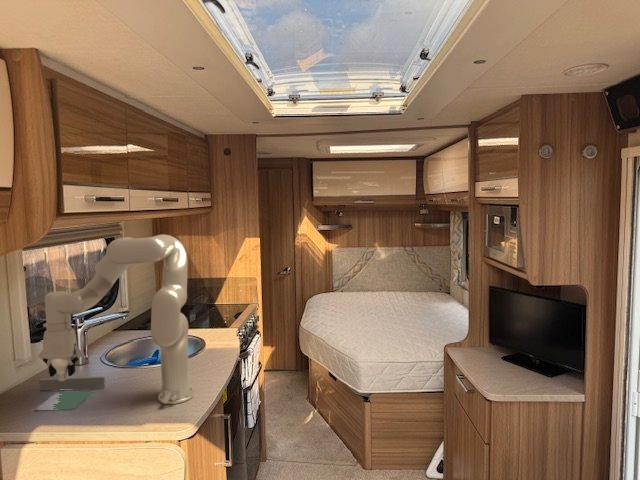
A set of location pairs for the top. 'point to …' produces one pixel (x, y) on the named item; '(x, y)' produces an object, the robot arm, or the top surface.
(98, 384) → the low wall
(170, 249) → the robot arm
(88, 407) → the top surface
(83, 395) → the mat
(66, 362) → the lightbulb
